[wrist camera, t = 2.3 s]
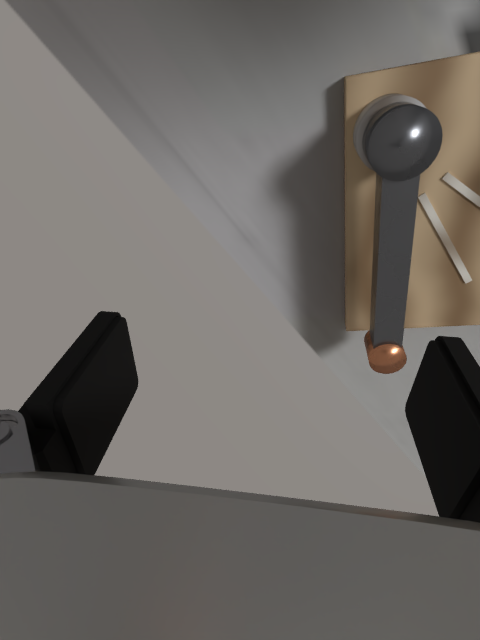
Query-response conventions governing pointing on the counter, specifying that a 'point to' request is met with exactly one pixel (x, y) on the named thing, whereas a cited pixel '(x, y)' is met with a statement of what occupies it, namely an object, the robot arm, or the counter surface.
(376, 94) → the base
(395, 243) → the lever
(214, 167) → the counter surface
